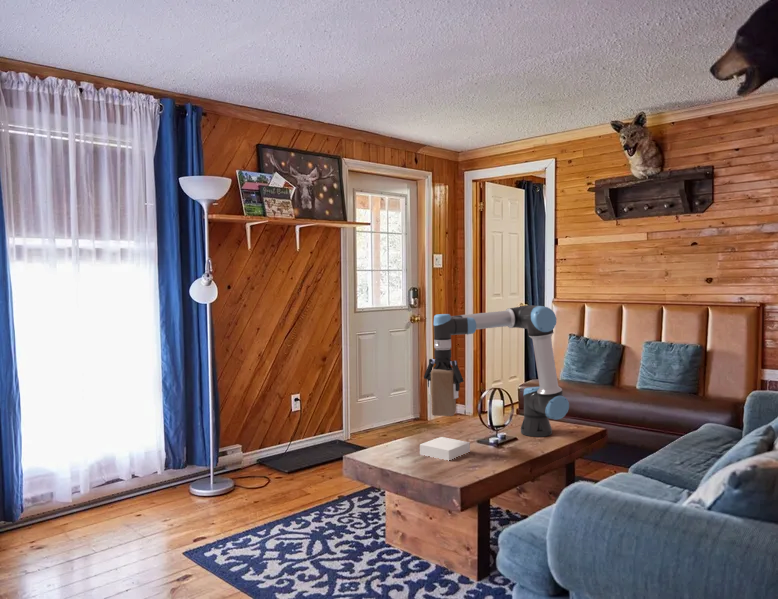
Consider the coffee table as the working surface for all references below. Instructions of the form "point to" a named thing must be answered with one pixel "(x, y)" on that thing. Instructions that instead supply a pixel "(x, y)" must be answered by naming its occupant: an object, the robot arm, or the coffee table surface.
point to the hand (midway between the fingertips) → (443, 396)
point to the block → (442, 392)
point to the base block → (444, 448)
